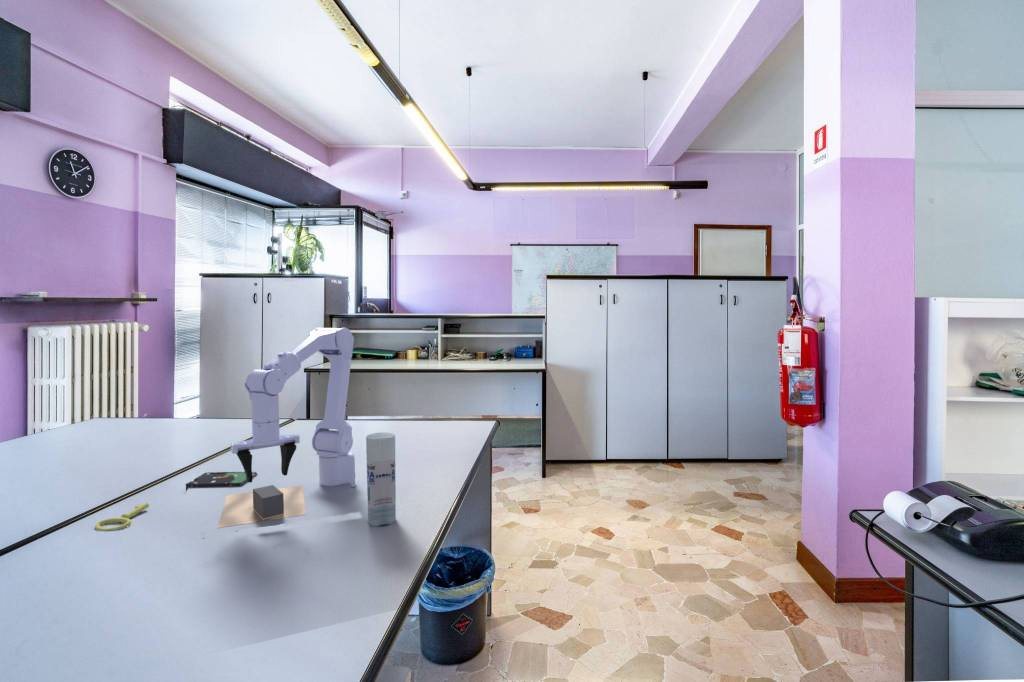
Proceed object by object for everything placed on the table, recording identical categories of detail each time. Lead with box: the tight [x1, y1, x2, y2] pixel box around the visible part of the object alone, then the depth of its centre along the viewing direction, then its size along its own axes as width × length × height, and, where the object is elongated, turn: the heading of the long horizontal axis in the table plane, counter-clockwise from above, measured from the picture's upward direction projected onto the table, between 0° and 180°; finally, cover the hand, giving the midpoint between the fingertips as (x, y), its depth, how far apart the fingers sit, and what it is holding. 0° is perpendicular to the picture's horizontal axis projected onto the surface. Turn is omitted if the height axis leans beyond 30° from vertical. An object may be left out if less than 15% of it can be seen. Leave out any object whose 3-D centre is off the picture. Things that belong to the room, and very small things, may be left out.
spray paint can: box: [365, 432, 397, 527], centre depth 118 cm, size 6×6×20 cm
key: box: [94, 502, 150, 532], centre depth 119 cm, size 7×12×2 cm, turn 14°
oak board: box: [217, 485, 307, 529], centre depth 125 cm, size 18×22×1 cm
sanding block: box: [252, 484, 284, 520], centre depth 120 cm, size 4×8×5 cm, turn 41°
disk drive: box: [185, 471, 258, 492], centre depth 143 cm, size 10×3×15 cm
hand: (267, 477), depth 120 cm, fingers open, 7 cm apart
